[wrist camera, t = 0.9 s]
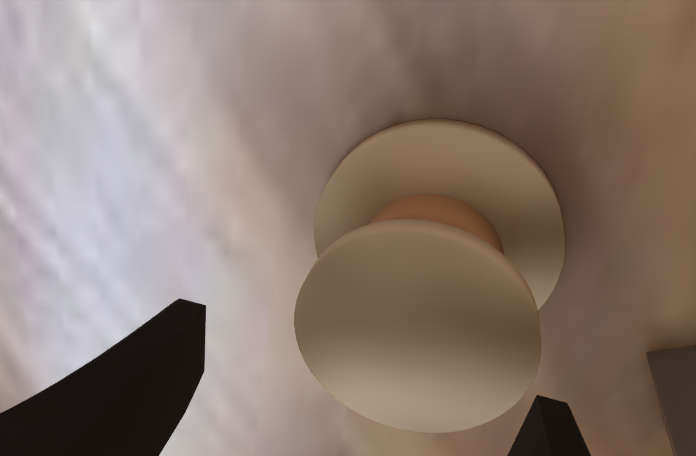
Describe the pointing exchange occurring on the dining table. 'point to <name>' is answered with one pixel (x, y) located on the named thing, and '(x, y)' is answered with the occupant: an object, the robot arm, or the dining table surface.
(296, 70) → the dining table surface
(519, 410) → the dining table surface
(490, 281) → the bobbin
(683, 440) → the block
